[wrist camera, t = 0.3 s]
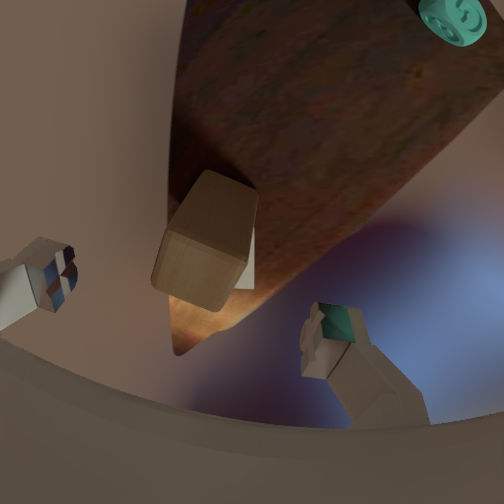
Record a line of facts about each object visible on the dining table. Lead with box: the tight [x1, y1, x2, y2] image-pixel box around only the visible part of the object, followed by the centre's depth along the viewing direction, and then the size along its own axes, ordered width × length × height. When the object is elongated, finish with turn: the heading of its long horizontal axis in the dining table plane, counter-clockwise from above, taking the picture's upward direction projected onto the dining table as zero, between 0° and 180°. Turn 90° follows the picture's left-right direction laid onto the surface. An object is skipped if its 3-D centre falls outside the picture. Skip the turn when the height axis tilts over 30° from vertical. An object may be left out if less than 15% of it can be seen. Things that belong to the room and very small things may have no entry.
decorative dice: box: [418, 0, 487, 46], centre depth 22 cm, size 8×8×8 cm
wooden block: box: [151, 169, 258, 312], centre depth 42 cm, size 10×10×20 cm
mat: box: [234, 227, 254, 289], centre depth 58 cm, size 15×12×1 cm
